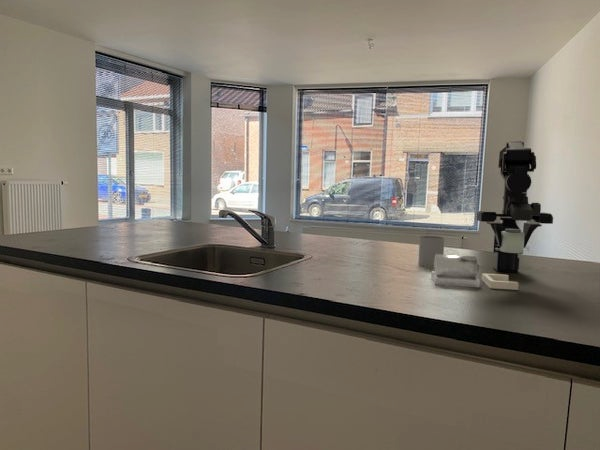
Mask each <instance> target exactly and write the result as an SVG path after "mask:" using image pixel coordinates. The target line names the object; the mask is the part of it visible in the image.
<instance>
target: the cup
mask: <svg viewBox="0 0 600 450" xmlns="http://www.w3.org/2000/svg"><path fill="white" fill-rule="evenodd" d="M418 244H419V245H418V265H419V266H423V267H426V268H427V267H428V268H434V260H435V255H436V254H439V255H445V253H444V252H445V237H444V236H438V235H420V236H419V242H418Z"/></svg>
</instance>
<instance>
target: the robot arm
mask: <svg viewBox="0 0 600 450" xmlns="http://www.w3.org/2000/svg"><path fill="white" fill-rule="evenodd" d="M524 143H525V142H524V141H522V140H516V141H513V140H511V141H507V142H506V144H505V147H504V148H502V149H501V150H500V151H499V152H498V153H499V155H498V166H497V167H498V168H500V169H499V172H500V173H499V174H500V175H501V177H502V179H503V181H504V186H503V195H502V199H503V201H502V203H503V204H502V206H503V207H502V212H501V213H497V212H496V211H491V210H479V211H478V212H477V215H476V221H478V222H483V223H485V222H486V224H488V225H490V227H491V229H492V231H493V234H494V236H493V243H492V244H493V245H492V246H493V247H492V251H493V253H495V256H494V257H495V258H494V266H492V267H493V268H492V269H494V271H495V270H496V272H499V273H500V272H502V273H516V274H517V273H519V271H518V270H519V269H520V257H519V255H523V254H524V252H523V253H507V252H502V251H500V247H501V245H502V231H505V229H520V227H519V226H518V224H517V221H520V222H521V221H523V226H522V227H523V229H522V232H524V233H525V238H524V249H525V248H526V246H527V244H528V243H529V240H530V238H531V237H532V234H533V233H534V232H535V230H536V229H538V227H542V224H548V225H549V224H553V223H554V217H553V214H552V213H550V212H541V210H542V209H541V208H542V207H541V206H542V204H541V203H540V202H531V203H529V197H528V196H527V195H528V193H527V192H528V190H529V189H530V188H531V185H532V178H531V176H530V175H529V174H528V173H534V172H535V170H536V169H537V156H536V155H535V152H534V151H532V148H531V147H524V146H525V144H524ZM501 221H502V222H501ZM524 221H525V222H524Z"/></svg>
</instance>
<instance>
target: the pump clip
mask: <svg viewBox="0 0 600 450" xmlns="http://www.w3.org/2000/svg"><path fill="white" fill-rule="evenodd" d="M509 276H510V275H508V274H501V273H500V274H498V273H482V274H481V281H482V282H483V283H484V284H485V285H486V286H487V287H488V288H489V289H497V290H512V291H513V290H514V291H516V290H517V291H519V282H518V281H511V280H509V278H510V277H509Z"/></svg>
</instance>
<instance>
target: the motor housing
mask: <svg viewBox="0 0 600 450" xmlns="http://www.w3.org/2000/svg"><path fill="white" fill-rule="evenodd" d="M479 271H480V266H479V264H478V259H477V256H475V255H459V254H458V255H456V254H444V255H439V254H436V255H435V260H434V267H433V270H431V280H432V282H433V283H434V285H436V286H451V287H466V288H480V283H481V282H480V281H481V280H480V278H478V277H477V275H478V273H479Z"/></svg>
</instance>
